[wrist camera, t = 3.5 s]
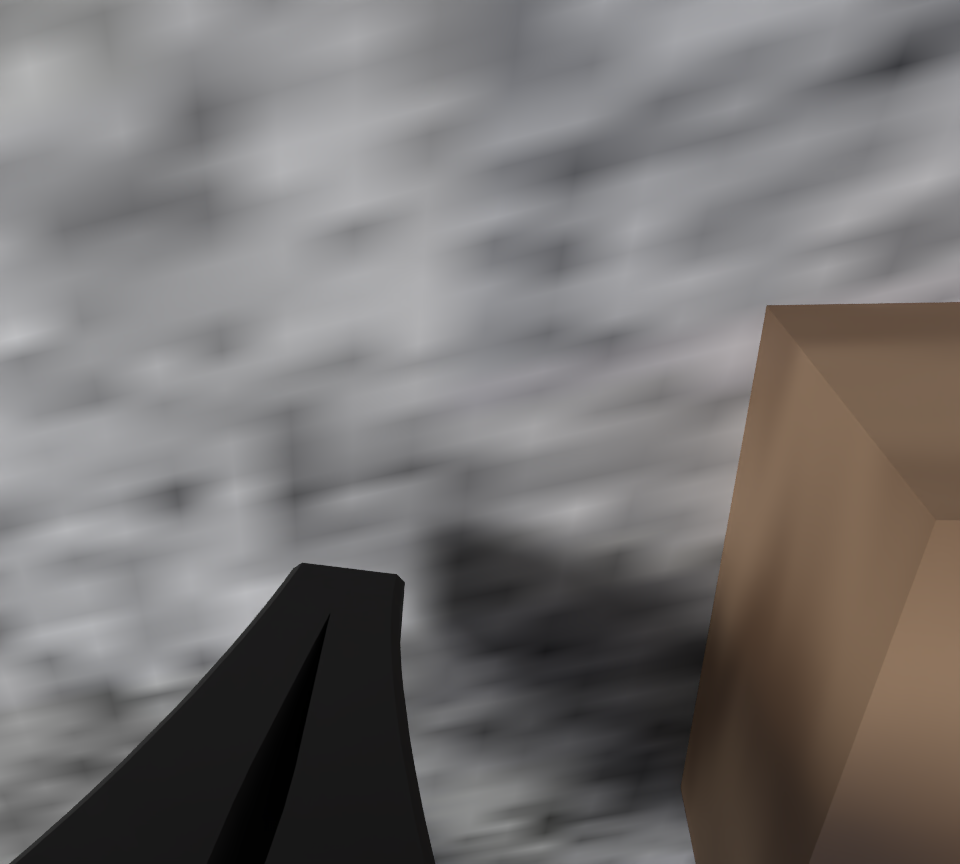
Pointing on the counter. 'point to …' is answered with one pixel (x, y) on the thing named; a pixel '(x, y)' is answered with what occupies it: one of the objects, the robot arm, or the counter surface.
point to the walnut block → (838, 601)
